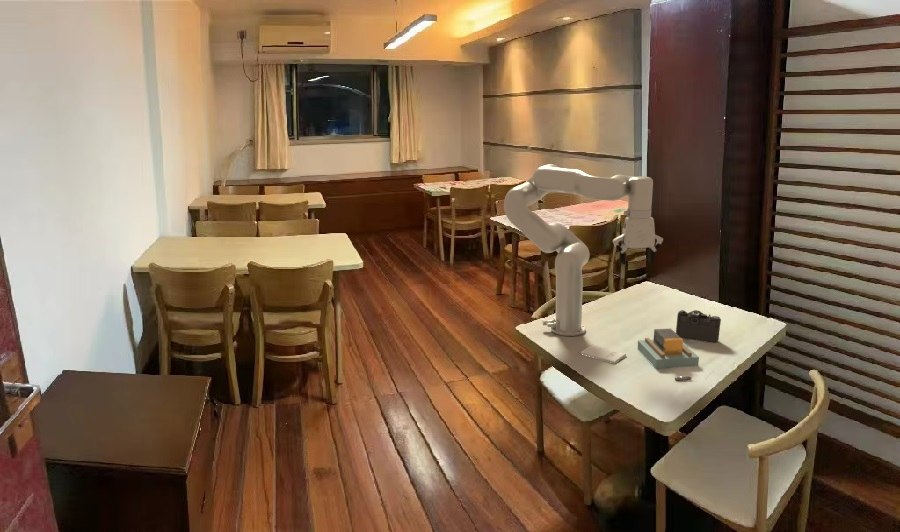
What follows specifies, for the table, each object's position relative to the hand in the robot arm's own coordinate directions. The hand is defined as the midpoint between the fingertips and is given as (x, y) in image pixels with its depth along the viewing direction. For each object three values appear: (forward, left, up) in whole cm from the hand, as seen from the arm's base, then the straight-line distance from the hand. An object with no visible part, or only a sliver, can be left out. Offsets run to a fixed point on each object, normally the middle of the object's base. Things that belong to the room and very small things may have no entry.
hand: (636, 262), depth 219 cm
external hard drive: (-14, -12, -29) cm, 34 cm away
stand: (+6, -16, -28) cm, 33 cm away
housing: (+6, -16, -25) cm, 31 cm away
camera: (+24, 0, -29) cm, 37 cm away
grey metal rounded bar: (+4, -33, -28) cm, 44 cm away
